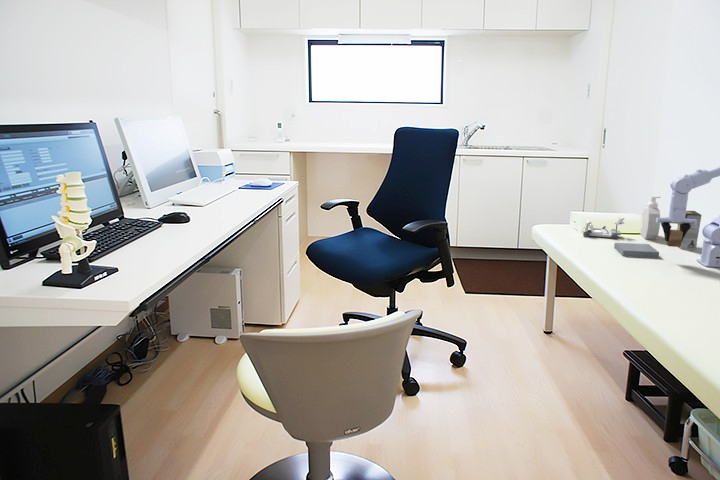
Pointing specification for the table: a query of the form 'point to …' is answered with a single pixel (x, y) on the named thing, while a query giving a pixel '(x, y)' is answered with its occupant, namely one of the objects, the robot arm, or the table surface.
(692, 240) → the coffee box
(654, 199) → the soap bottle
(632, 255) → the grey box
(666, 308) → the table surface
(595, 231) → the toy rover
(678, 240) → the walnut block
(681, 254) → the table surface
